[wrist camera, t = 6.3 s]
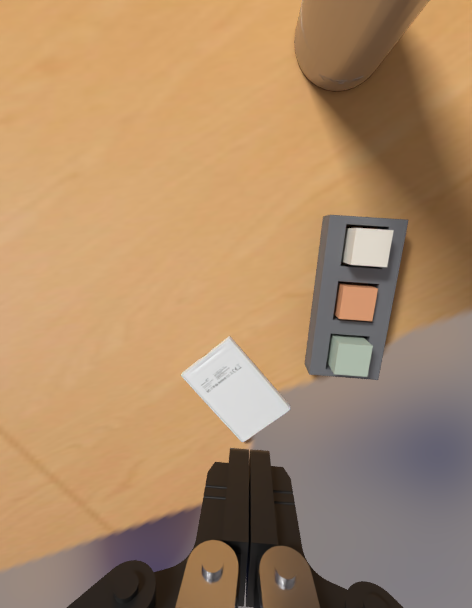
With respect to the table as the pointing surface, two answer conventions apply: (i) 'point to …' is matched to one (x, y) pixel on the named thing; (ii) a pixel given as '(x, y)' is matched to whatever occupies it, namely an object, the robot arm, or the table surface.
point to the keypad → (334, 271)
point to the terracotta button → (355, 301)
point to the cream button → (367, 247)
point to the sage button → (349, 355)
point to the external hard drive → (236, 390)
